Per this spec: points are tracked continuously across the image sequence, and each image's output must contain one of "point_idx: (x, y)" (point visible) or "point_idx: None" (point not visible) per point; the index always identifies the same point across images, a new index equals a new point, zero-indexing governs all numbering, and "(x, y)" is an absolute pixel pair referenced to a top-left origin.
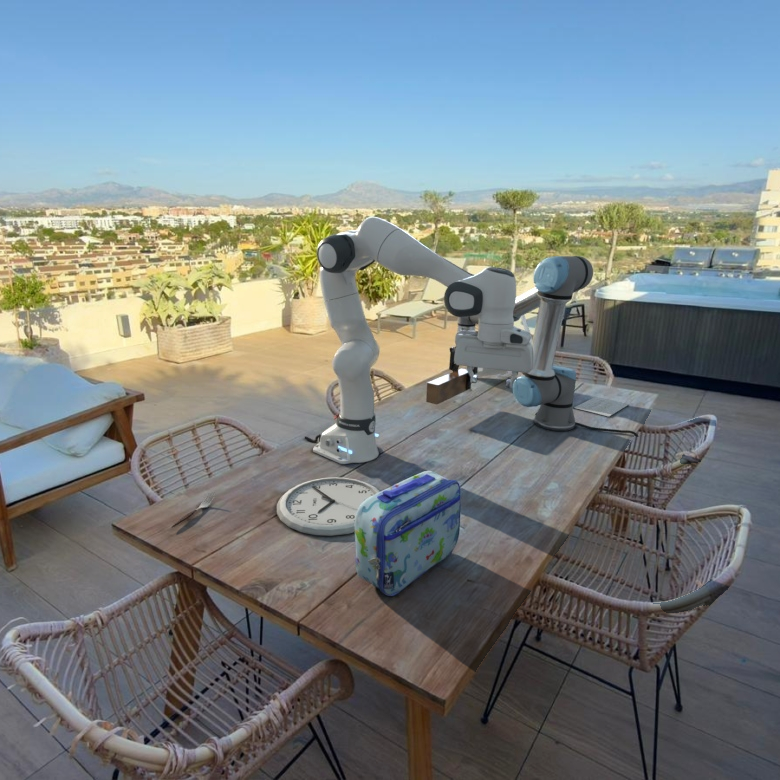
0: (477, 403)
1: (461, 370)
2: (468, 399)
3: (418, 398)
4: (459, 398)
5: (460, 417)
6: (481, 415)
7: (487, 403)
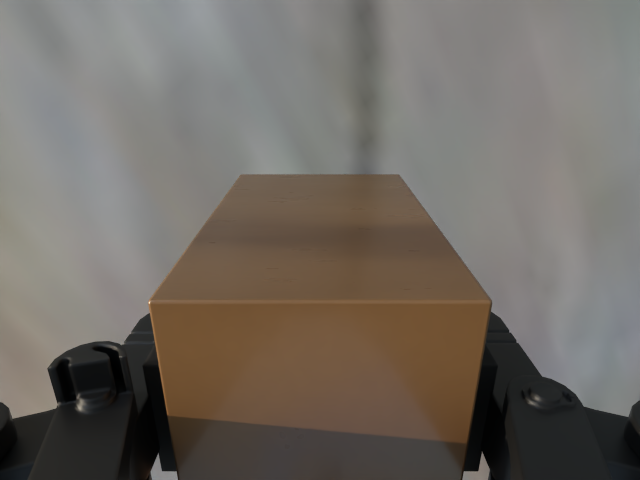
0: (461, 142)
1: (258, 445)
2: (334, 86)
3: (3, 339)
4: (248, 117)
5: (469, 471)
6: (586, 373)
7: (549, 76)
